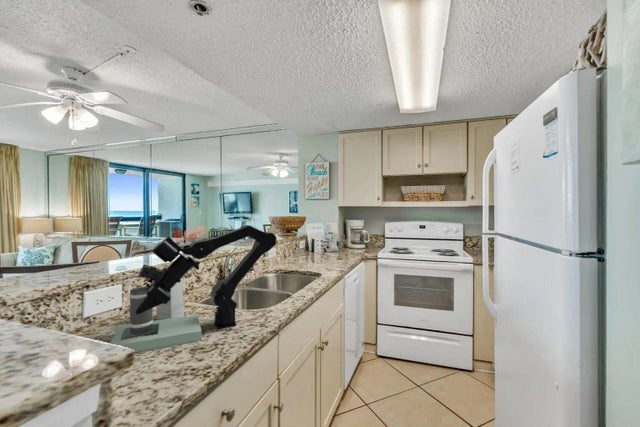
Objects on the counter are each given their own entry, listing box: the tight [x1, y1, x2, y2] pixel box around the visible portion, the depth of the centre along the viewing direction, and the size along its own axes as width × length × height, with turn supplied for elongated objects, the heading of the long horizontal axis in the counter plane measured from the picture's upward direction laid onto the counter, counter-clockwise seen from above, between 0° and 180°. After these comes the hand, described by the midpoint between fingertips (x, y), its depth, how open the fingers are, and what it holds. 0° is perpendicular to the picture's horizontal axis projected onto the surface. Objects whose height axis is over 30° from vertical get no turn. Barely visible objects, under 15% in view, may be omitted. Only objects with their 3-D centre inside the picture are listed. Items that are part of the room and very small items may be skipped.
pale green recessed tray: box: [110, 314, 203, 353], centre depth 92 cm, size 24×16×3 cm, turn 118°
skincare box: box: [156, 278, 185, 320], centre depth 108 cm, size 8×6×15 cm
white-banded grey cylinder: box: [129, 286, 154, 336], centre depth 89 cm, size 6×6×13 cm
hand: (136, 310), depth 89 cm, fingers closed on white-banded grey cylinder, 6 cm apart
